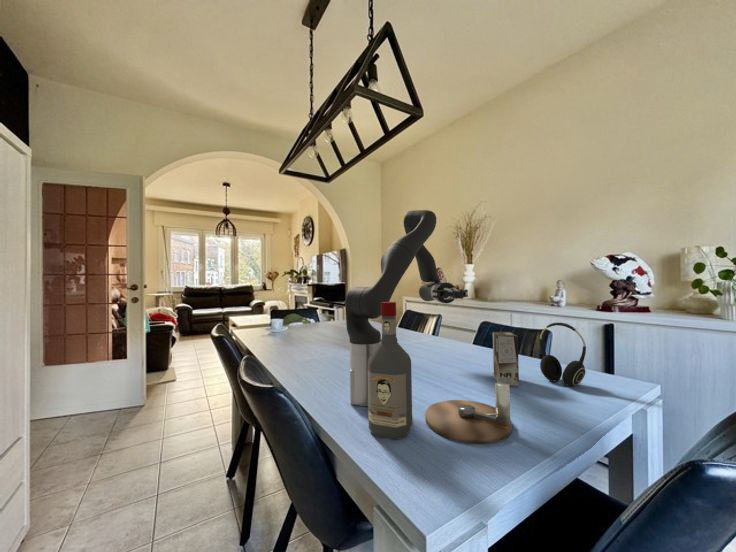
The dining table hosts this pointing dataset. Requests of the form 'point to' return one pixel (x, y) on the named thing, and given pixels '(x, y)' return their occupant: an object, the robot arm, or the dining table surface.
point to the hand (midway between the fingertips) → (459, 294)
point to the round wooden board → (465, 423)
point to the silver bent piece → (501, 407)
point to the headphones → (553, 367)
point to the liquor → (389, 382)
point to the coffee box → (506, 358)
